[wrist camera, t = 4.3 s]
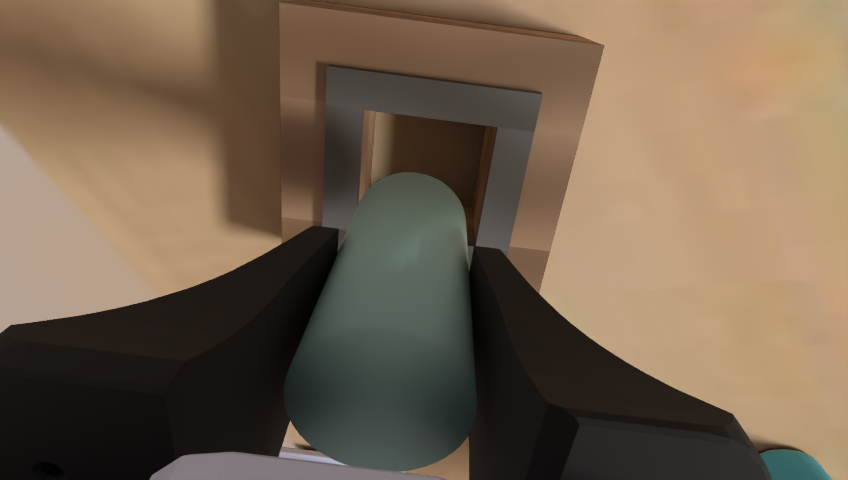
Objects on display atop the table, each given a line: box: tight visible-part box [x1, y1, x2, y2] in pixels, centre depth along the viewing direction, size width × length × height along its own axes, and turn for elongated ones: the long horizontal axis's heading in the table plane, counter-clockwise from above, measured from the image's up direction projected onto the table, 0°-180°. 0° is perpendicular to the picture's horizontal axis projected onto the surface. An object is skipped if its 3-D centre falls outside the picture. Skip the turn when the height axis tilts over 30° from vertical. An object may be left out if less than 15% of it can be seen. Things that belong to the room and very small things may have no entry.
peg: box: [283, 172, 477, 472], centre depth 11 cm, size 3×3×7 cm
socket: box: [279, 0, 604, 293], centre depth 19 cm, size 10×10×4 cm
